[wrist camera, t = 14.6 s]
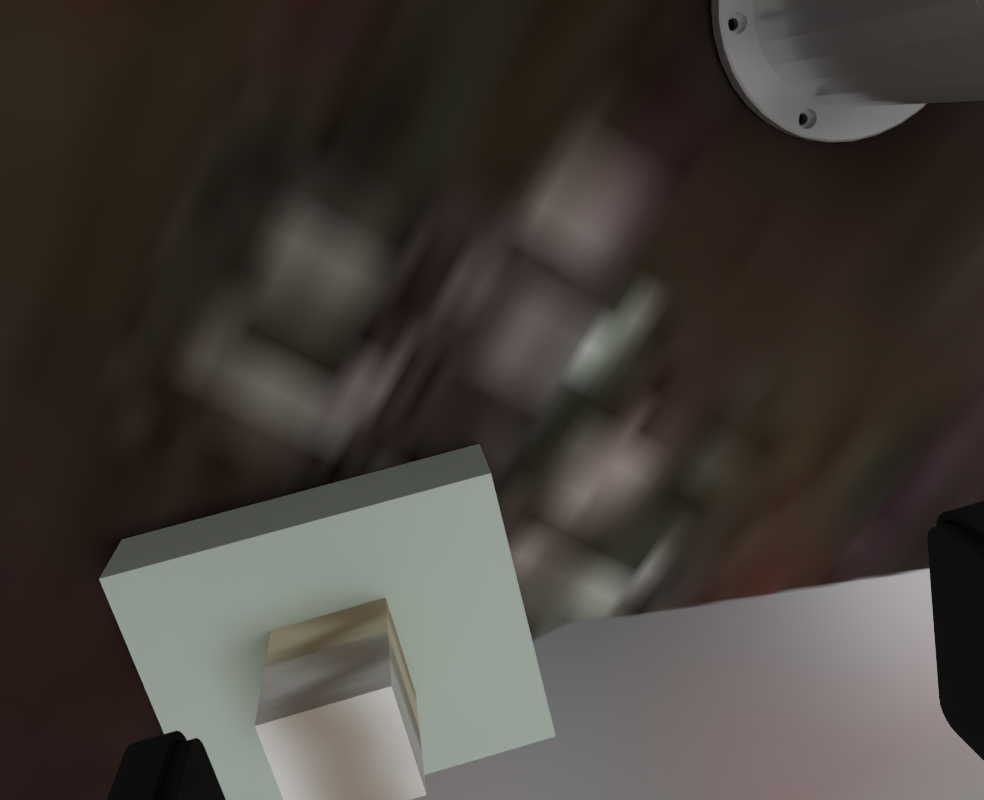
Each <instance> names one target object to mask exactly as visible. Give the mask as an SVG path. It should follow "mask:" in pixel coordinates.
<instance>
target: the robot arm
mask: <svg viewBox="0 0 984 800" xmlns="http://www.w3.org/2000/svg"><path fill="white" fill-rule="evenodd" d="M711 11H712V22H713V33H714V39H715V43H716V46H717V50H718V54H719V57H720V61H721V64H722V66H723V68H724V70H725V72H726V74H727V76H728V78H729V80H730V82H731V85H732V87H733V88H734V89H735V91H736V92H737V93H738V95H739V96H740V97H741V98H742V100H743V101H744V102H745V104H746V105H747V106H748V107H749V108H750V109H751V110H752V111H753V112H754V113H755V114H757V115H758V116H759V117H760V118H761V119H762V120H763V121H765V122H766V123H767V124H769V125H771V126H773V127H775V128H777V129H778V130H780V131H782V132H784V133H786V134H788V135H792V136H795V137H798V138H802V139H805V140H809V141H821V142H847V141H856V140H860V139H864V138H868V137H872V136H876V135H879V134H881V133H883V132H885V131H887V130H889V129H892V128H894V127H896V126H898V125H900V124H902V123H903V122H904V121H906V120H907V119H909V118H910V117H911V116H913V115H914V114H916V113H917V112H918V111H920V110H921V109H922V108H923V107H924V106H925V105H926V104H927V103H943V102H964V101H984V0H712V4H711ZM729 19H731V20H732V21H733V22H734V28H733V30H732V31H730V29H729V27H728V21H729ZM800 114H801V115H802V117H803V121H802V123H801V124H799V116H800ZM928 553H929V566H930V579H931V593H932V606H933V620H934V633H935V646H936V658H937V659H936V660H937V673H938V687H939V699H940V705H941V708H942V711H943V713H944V716H945V718H946V720H947V721H948V723H949V724H950V726H951V727H952V728H953V730H954V731H955V732H956V733H957V734H958V735H959V736H960V737H961V738H962V739H963V740H964V741H965V742H966V743H967V744H968V745H969V746H970V747H971V748H972V749H973V750H974V751H975V752H976V753H977V754H978V755H979V756H980V757H981V758H982V759H983V760H984V501H982V502H978V503H975V504H971V505H968V506H964V507H961V508H957V509H954V510H950V511H947V512H943V513H942V514H941V515H940V516H939V517H938V520H937V527H933V528H932V529H930V530H929V533H928ZM107 800H226V799H225V797H224V794H223V792H222V789H221V787H220V784H219V782H218V779H217V777H216V774H215V772H214V769H213V767H212V764H211V762H210V759H209V757H208V754H207V752H206V750H205V747H204V745H203V743H202V742H201V741H200V739H198V738H194V739H191V740H187V739H186V738H185V736H184V735H183V734H182V733H181V732H180V731H173V732H170V733H166V734H163V735H159V736H156V737H152V738H149V739H145V740H142V741H138V742H135V743H132V744H130V745H129V746H128V747H127V749H126V751H125V753H124V756H123V758H122V761H121V764H120V766H119V769H118V772H117V774H116V777H115V780H114V783H113V785H112V788H111V791H110V793H109V796H108V799H107Z"/></svg>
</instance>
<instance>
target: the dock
mask: <svg viewBox="0 0 984 800" xmlns="http://www.w3.org/2000/svg"><path fill="white" fill-rule="evenodd" d="M99 580H100V582H101V585H102V587H103V589H104V592H105V594H106V597H107V599H108V601H109V604H110V606H111V609H112V611H113V613H114V616H115V618H116V620H117V623H118V625H119V628H120V630H121V632H122V635H123V637H124V640H125V642H126V644H127V647H128V649H129V651H130V654H131V656H132V659H133V661H134V663H135V666H136V668H137V670H138V673H139V675H140V678H141V680H142V682H143V685H144V687H145V690H146V692H147V694H148V697H149V699H150V701H151V704H152V706H153V709H154V711H155V713H156V716H157V718H158V721H159V723H160V725H161V728H162V730H163V732H164V734H166V733H170V732H173V731H180V732H181V733H182V734H183V735H184V736H185V738H186V739H187V740H191V739H194V738H198V739H200V741H201V742H202V743H203V745H204V747H205V750H206V752H207V754H208V757H209V759H210V762H211V764H212V767H213V769H214V772H215V774H216V777H217V779H218V782H219V784H220V787H221V789H222V792H223V794H224V797H225V799H226V800H283V798H282V795H281V793H280V790H279V787H278V785H277V782H276V780H275V777H274V775H273V772H272V769H271V767H270V764H269V762H268V759H267V757H266V754H265V751H264V749H263V746H262V744H261V741H260V739H259V736H258V733H257V731H256V728H255V722H256V716H257V710H258V704H259V698H260V692H261V686H262V680H263V674H264V668H265V663H266V657H267V651H268V645H269V639H270V633H271V630H274V629H277V628H281V627H284V626H288V625H291V624H295V623H298V622H302V621H305V620H309V619H312V618H316V617H319V616H323V615H326V614H330V613H333V612H337V611H340V610H344V609H347V608H351V607H354V606H358V605H361V604H365V603H368V602H372V601H375V600H379V599H382V598H386V600H387V603H388V606H389V609H390V613H391V616H392V619H393V622H394V625H395V629H396V632H397V635H398V638H399V641H400V645H401V648H402V651H403V654H404V657H405V661H406V664H407V667H408V670H409V674H410V677H411V680H412V683H413V686H414V690H415V693H416V701H417V711H418V720H419V729H420V739H421V748H422V757H423V767H424V775H426V774H429V773H432V772H436V771H439V770H443V769H446V768H450V767H453V766H456V765H460V764H463V763H467V762H470V761H473V760H477V759H480V758H483V757H487V756H490V755H494V754H497V753H501V752H504V751H507V750H511V749H514V748H518V747H521V746H525V745H528V744H531V743H535V742H538V741H542V740H545V739H548V738H552V737H555V731H554V727H553V723H552V720H551V715H550V711H549V707H548V703H547V699H546V695H545V691H544V687H543V683H542V679H541V675H540V671H539V666H538V663H537V658H536V654H535V651H534V646H533V642H532V638H531V634H530V630H529V626H528V622H527V618H526V614H525V610H524V606H523V602H522V597H521V593H520V589H519V585H518V581H517V577H516V573H515V569H514V565H513V561H512V557H511V553H510V549H509V545H508V541H507V537H506V532H505V528H504V524H503V520H502V516H501V512H500V508H499V504H498V500H497V496H496V492H495V488H494V484H493V480H492V476H491V472H490V470H489V467H488V465H487V462H486V460H485V457H484V455H483V452H482V449H481V447H480V444H477V445H473V446H469V447H466V448H462V449H458V450H454V451H451V452H447V453H443V454H439V455H436V456H432V457H428V458H424V459H421V460H417V461H413V462H409V463H406V464H402V465H398V466H395V467H391V468H387V469H383V470H380V471H376V472H372V473H368V474H365V475H361V476H357V477H353V478H350V479H346V480H342V481H339V482H335V483H331V484H327V485H324V486H320V487H316V488H312V489H309V490H305V491H301V492H297V493H294V494H290V495H286V496H282V497H279V498H275V499H271V500H268V501H264V502H260V503H256V504H253V505H249V506H245V507H241V508H238V509H234V510H230V511H226V512H223V513H219V514H215V515H211V516H208V517H204V518H200V519H197V520H193V521H189V522H185V523H182V524H178V525H174V526H170V527H167V528H163V529H159V530H155V531H152V532H148V533H144V534H141V535H137V536H133V537H129V538H126V539H122V540H121V542H120V543H119V545H118V547H117V549H116V550H115V552H114V554H113V556H112V557H111V559H110V561H109V563H108V564H107V566H106V568H105V570H104V571H103V573H102V575H101V577H100V578H99Z"/></svg>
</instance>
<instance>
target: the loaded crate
mask: <svg viewBox="0 0 984 800" xmlns="http://www.w3.org/2000/svg"><path fill="white" fill-rule="evenodd" d="M255 728H256V731H257V733H258V736H259V739H260V741H261V744H262V746H263V749H264V751H265V754H266V757H267V759H268V762H269V764H270V767H271V769H272V772H273V775H274V777H275V780H276V782H277V785H278V787H279V790H280V793H281V795H282V798H283V800H411V799H414V798H418V797H421V796H424V795H426V786H425V777H424V767H423V757H422V748H421V739H420V729H419V720H418V711H417V701H416V693H415V690H414V686H413V683H412V680H411V677H410V674H409V670H408V667H407V664H406V661H405V657H404V654H403V651H402V648H401V645H400V641H399V638H398V635H397V632H396V629H395V625H394V622H393V619H392V616H391V613H390V609H389V606H388V603H387V600H386V598H382V599H379V600H375V601H372V602H368V603H365V604H361V605H358V606H354V607H351V608H347V609H344V610H340V611H337V612H333V613H330V614H326V615H323V616H319V617H316V618H312V619H309V620H305V621H302V622H298V623H295V624H291V625H288V626H284V627H281V628H277V629H274V630H271V633H270V639H269V645H268V651H267V657H266V663H265V668H264V674H263V680H262V686H261V692H260V698H259V704H258V710H257V716H256V722H255Z"/></svg>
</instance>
